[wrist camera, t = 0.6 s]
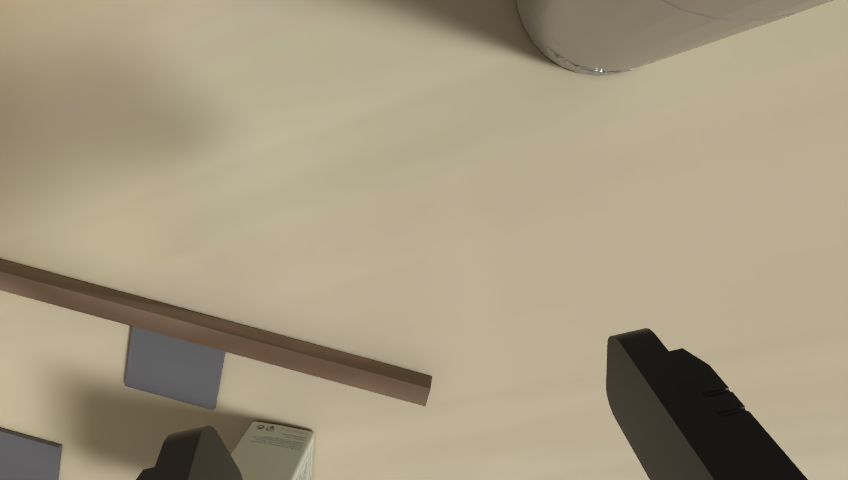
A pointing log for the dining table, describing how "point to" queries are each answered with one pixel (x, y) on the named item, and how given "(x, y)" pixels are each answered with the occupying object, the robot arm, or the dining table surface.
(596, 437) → the dining table surface
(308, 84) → the dining table surface
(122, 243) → the dining table surface
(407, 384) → the frame
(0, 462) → the pads
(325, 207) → the dining table surface
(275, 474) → the skincare box
